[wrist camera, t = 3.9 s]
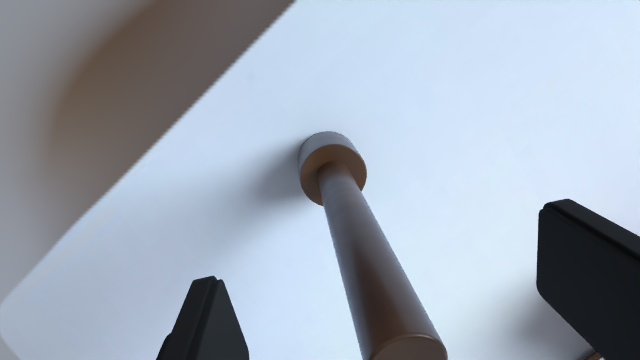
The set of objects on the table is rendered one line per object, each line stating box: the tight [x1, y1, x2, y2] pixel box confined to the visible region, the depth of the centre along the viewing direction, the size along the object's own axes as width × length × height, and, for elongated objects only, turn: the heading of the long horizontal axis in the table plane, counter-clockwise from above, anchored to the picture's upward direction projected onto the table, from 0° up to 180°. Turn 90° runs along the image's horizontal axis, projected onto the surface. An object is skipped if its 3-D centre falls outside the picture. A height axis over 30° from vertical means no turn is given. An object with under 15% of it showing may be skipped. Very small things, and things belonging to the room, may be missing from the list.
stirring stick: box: [298, 131, 448, 360], centre depth 15 cm, size 4×4×15 cm
